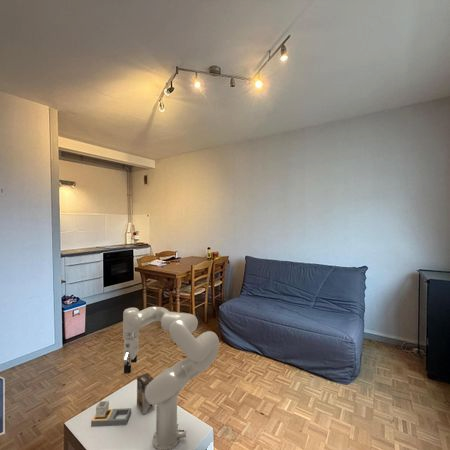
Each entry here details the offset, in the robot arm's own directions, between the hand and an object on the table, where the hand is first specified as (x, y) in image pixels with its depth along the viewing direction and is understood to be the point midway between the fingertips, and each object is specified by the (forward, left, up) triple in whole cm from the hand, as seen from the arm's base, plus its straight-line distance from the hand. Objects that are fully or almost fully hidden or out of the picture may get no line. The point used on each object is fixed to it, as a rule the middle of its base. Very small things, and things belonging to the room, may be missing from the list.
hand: (130, 367), depth 123 cm
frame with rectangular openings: (+10, -4, -28) cm, 30 cm away
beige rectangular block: (+15, -4, -28) cm, 32 cm away
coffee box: (-5, -11, -28) cm, 31 cm away
